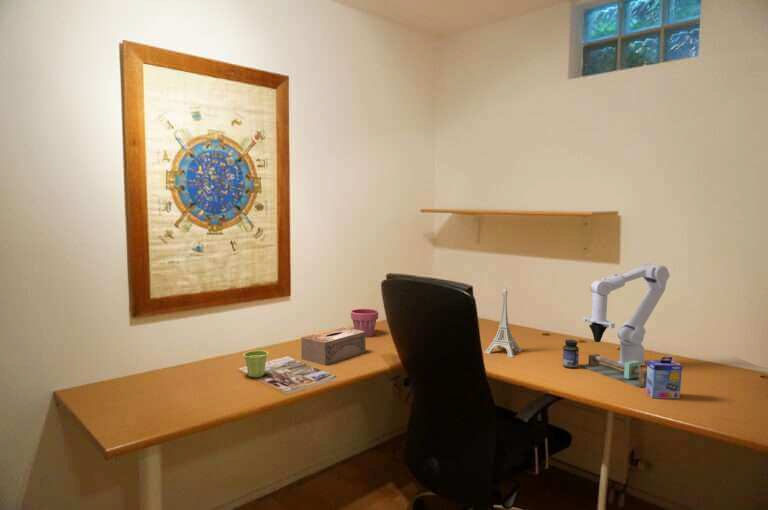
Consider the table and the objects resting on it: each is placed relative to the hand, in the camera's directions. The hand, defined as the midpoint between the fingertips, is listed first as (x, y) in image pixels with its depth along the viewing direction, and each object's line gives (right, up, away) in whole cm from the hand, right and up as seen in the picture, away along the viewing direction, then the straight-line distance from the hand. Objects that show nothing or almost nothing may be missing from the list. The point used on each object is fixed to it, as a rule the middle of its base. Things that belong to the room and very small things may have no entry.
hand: (597, 341), depth 213 cm
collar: (+6, -11, -17) cm, 21 cm away
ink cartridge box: (+9, -14, -34) cm, 37 cm away
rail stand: (+4, -11, -11) cm, 16 cm away
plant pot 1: (-139, -11, -13) cm, 140 cm away
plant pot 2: (-99, -6, +52) cm, 112 cm away
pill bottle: (-11, -11, 0) cm, 16 cm away
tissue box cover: (-111, -9, +15) cm, 113 cm away
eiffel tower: (-34, -9, +22) cm, 42 cm away
